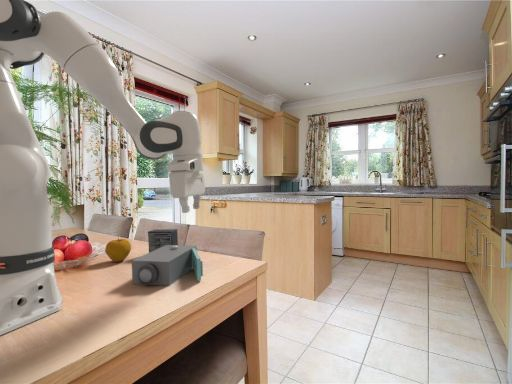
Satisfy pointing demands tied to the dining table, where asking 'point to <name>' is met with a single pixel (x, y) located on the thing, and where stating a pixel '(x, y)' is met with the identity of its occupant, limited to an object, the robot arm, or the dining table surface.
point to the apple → (118, 249)
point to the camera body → (162, 265)
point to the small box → (162, 238)
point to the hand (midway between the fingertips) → (191, 210)
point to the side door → (197, 264)
